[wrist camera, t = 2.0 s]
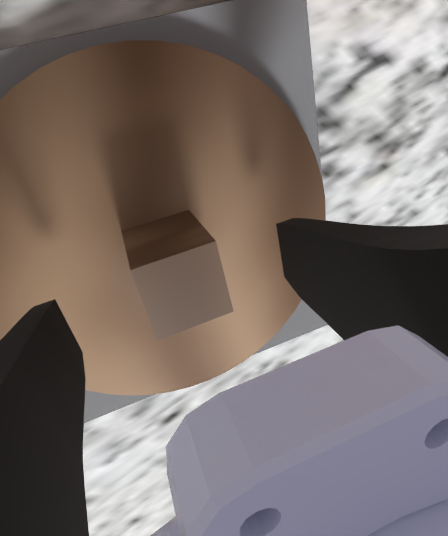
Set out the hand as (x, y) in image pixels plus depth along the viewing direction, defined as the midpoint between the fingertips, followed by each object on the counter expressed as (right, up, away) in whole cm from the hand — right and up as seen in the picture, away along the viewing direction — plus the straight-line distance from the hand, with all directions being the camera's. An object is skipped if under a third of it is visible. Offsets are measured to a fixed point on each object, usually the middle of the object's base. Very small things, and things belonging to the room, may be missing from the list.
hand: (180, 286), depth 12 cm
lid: (-1, +2, +4) cm, 4 cm away
